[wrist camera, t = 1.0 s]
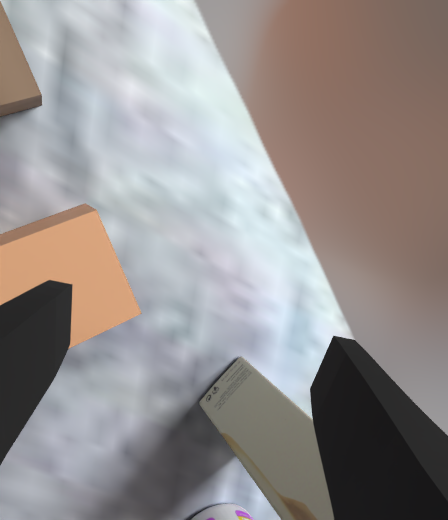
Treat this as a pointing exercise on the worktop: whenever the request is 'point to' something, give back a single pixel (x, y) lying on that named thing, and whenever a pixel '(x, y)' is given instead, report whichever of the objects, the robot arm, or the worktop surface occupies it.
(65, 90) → the worktop surface
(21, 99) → the walnut block
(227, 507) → the supplement bottle
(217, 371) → the worktop surface
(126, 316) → the orange cube
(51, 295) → the robot arm
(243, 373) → the skincare box
